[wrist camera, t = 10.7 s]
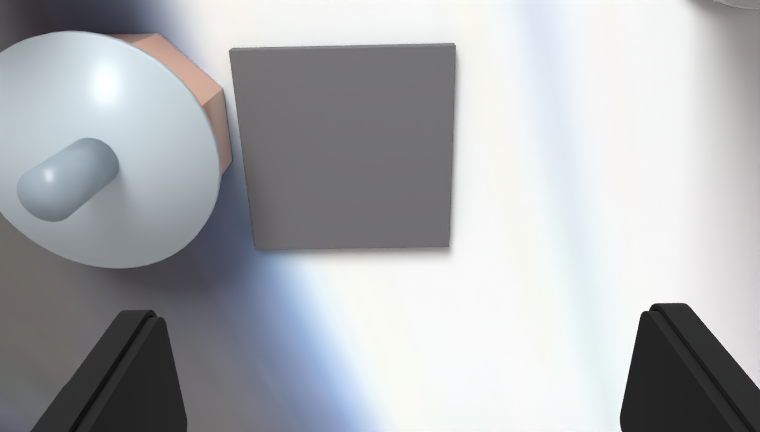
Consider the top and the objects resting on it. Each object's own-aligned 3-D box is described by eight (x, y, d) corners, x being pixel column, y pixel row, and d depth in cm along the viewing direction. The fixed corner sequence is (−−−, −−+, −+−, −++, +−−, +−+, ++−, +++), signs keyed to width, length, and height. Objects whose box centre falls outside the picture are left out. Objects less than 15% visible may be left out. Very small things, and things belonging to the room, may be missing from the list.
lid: (201, 27, 30) (162, 44, 25) (236, 260, 36) (210, 313, 31) (-62, 33, 30) (-156, 51, 25) (16, 263, 36) (-47, 317, 31)
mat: (453, 43, 36) (455, 45, 35) (447, 240, 42) (449, 246, 41) (232, 48, 36) (228, 50, 35) (257, 243, 42) (255, 249, 41)
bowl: (215, 31, 36) (184, 46, 30) (239, 206, 41) (216, 246, 36) (25, 36, 36) (-39, 51, 31) (73, 209, 41) (25, 249, 36)
